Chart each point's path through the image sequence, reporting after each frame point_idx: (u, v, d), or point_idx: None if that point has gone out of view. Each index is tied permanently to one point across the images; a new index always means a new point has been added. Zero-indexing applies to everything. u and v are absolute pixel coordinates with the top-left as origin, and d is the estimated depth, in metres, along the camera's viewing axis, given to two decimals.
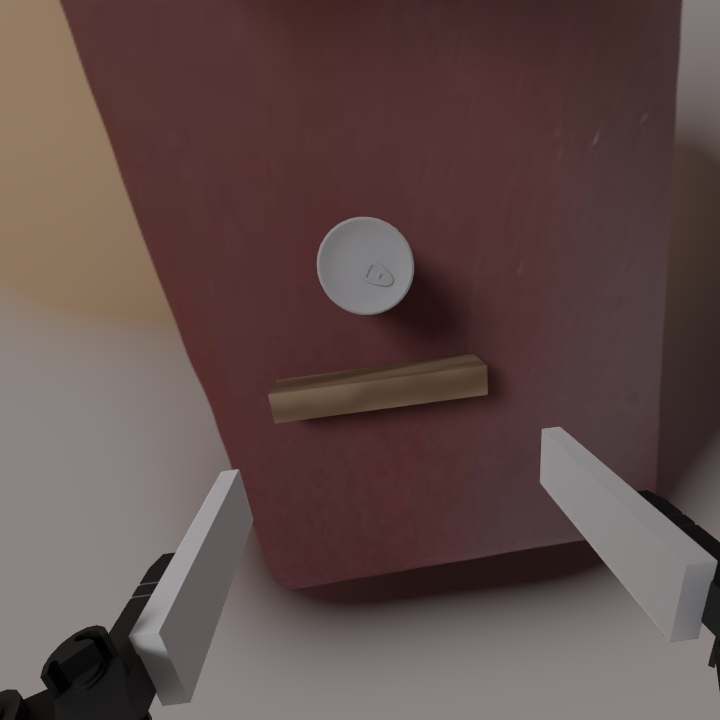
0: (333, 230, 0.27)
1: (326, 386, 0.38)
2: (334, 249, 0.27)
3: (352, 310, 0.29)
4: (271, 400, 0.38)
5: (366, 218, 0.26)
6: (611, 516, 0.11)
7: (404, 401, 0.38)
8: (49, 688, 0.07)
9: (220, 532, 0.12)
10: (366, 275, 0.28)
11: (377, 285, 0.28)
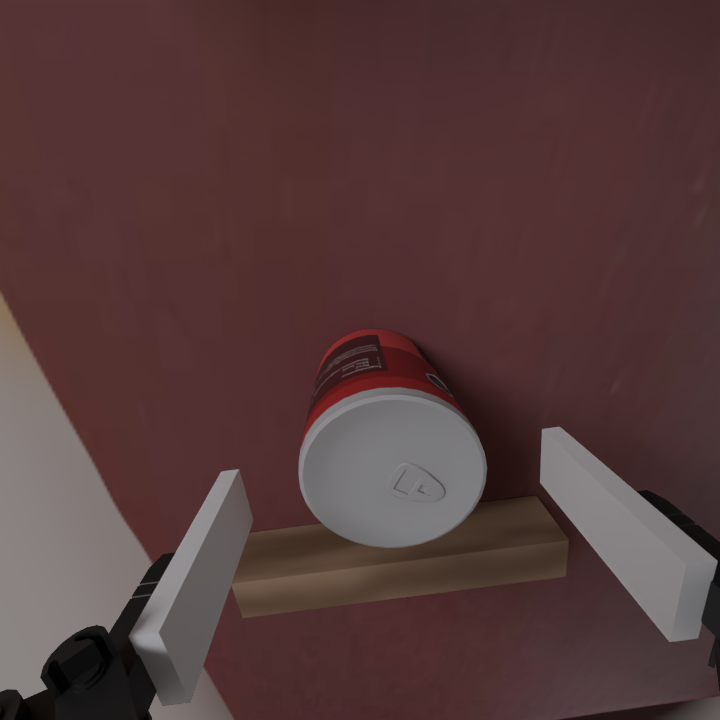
0: (330, 419, 0.13)
1: (321, 571, 0.24)
2: (332, 446, 0.14)
3: (366, 543, 0.15)
4: (236, 590, 0.25)
5: (398, 398, 0.13)
6: (611, 516, 0.11)
7: (440, 586, 0.25)
8: (49, 688, 0.07)
9: (220, 532, 0.12)
10: (394, 486, 0.15)
11: (415, 500, 0.15)
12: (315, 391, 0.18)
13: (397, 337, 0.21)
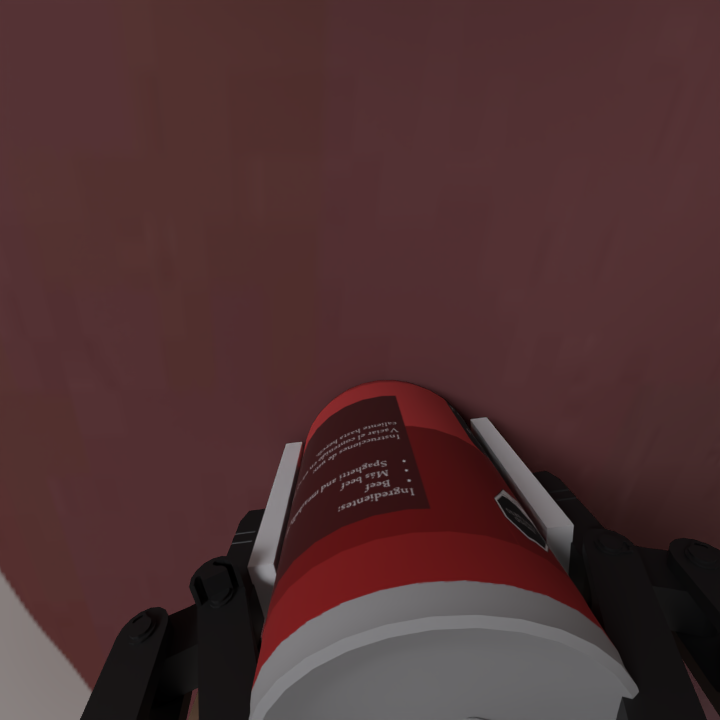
0: (312, 666, 0.06)
1: None
2: (318, 698, 0.06)
3: None
4: None
5: (469, 624, 0.06)
6: None
7: None
8: (194, 597, 0.09)
9: None
10: None
11: None
12: (294, 509, 0.10)
13: (425, 399, 0.14)
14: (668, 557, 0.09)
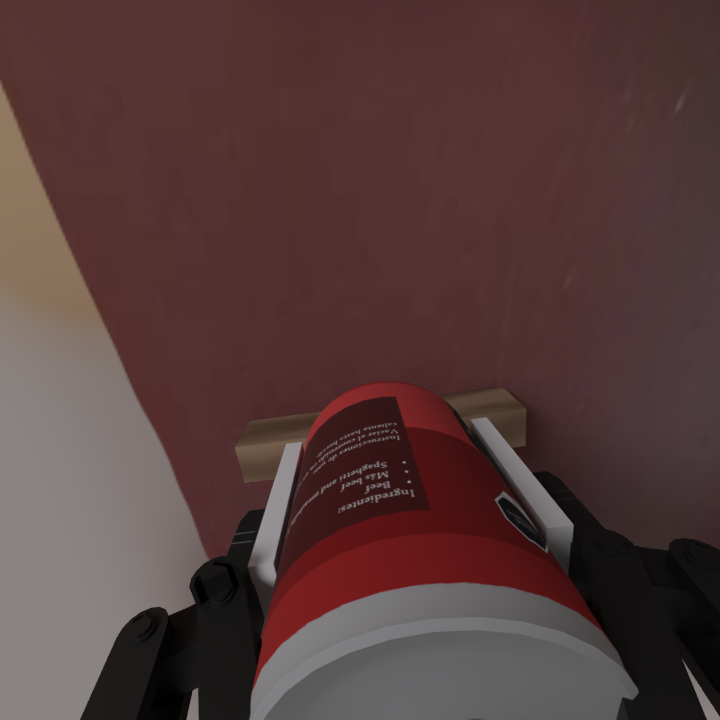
0: (312, 668, 0.06)
1: None
2: (318, 700, 0.06)
3: None
4: (239, 454, 0.28)
5: (469, 626, 0.06)
6: None
7: None
8: (194, 597, 0.09)
9: None
10: None
11: None
12: (295, 510, 0.10)
13: (426, 399, 0.14)
14: (668, 557, 0.09)
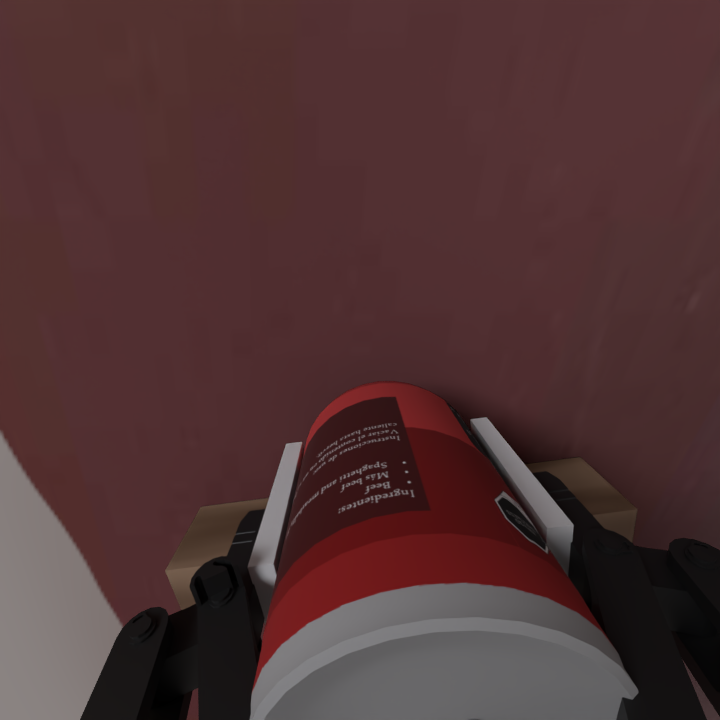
0: (312, 668, 0.06)
1: None
2: (319, 700, 0.06)
3: None
4: (173, 580, 0.18)
5: (469, 627, 0.06)
6: None
7: None
8: (194, 597, 0.09)
9: None
10: None
11: None
12: (295, 510, 0.10)
13: (426, 400, 0.14)
14: (668, 557, 0.09)
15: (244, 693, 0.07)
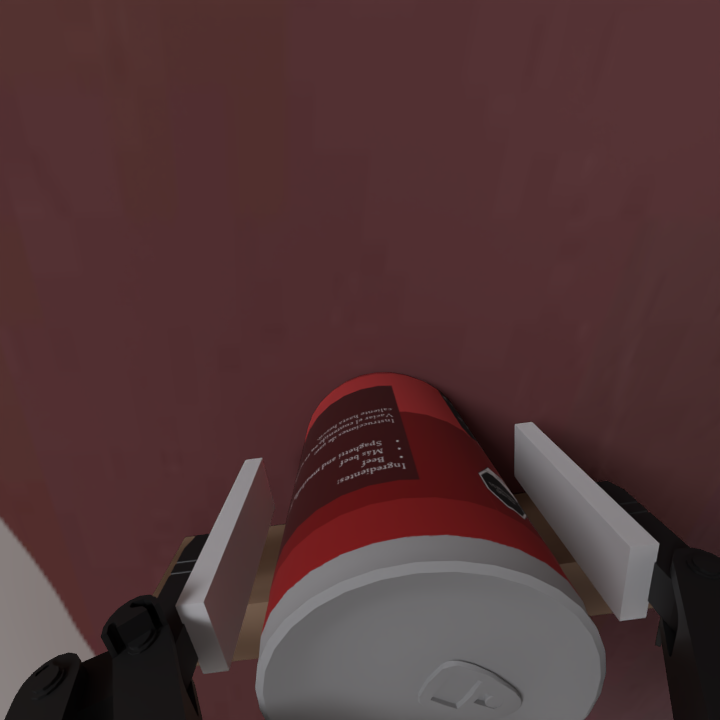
0: (314, 606, 0.07)
1: None
2: (320, 639, 0.07)
3: None
4: None
5: (448, 568, 0.06)
6: (571, 505, 0.11)
7: None
8: (108, 647, 0.08)
9: (249, 515, 0.13)
10: (431, 697, 0.08)
11: (467, 715, 0.08)
12: (297, 486, 0.11)
13: (419, 388, 0.15)
14: None
15: None
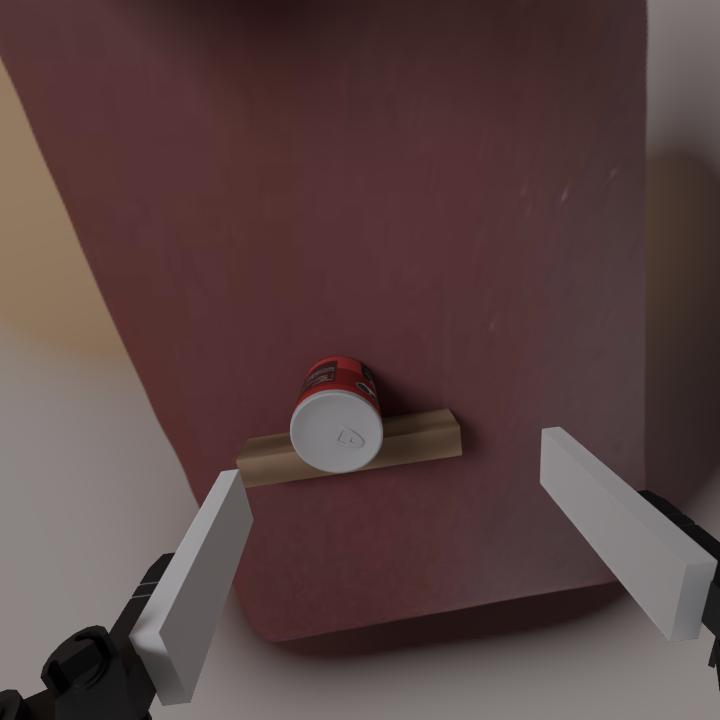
0: (304, 405, 0.28)
1: (295, 451, 0.37)
2: (306, 419, 0.29)
3: (325, 470, 0.30)
4: (239, 465, 0.37)
5: (335, 394, 0.28)
6: (611, 516, 0.11)
7: (376, 463, 0.37)
8: (49, 688, 0.07)
9: (220, 532, 0.12)
10: (337, 439, 0.29)
11: (349, 447, 0.30)
12: (300, 393, 0.33)
13: (349, 361, 0.36)
14: None
15: None
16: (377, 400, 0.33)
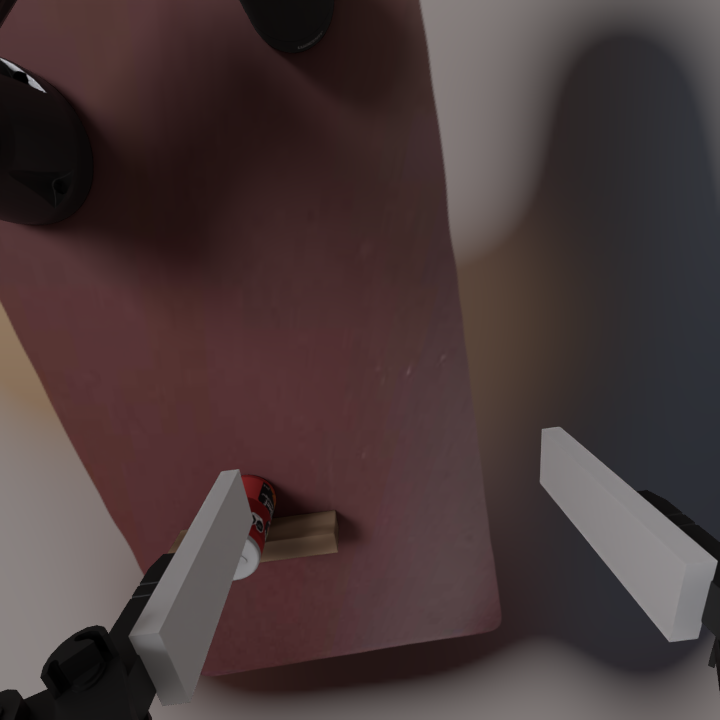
0: None
1: None
2: None
3: None
4: None
5: None
6: (611, 516, 0.11)
7: (273, 557, 0.50)
8: (49, 688, 0.07)
9: (220, 532, 0.12)
10: None
11: None
12: None
13: (252, 484, 0.49)
14: None
15: None
16: (265, 522, 0.45)
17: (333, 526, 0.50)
